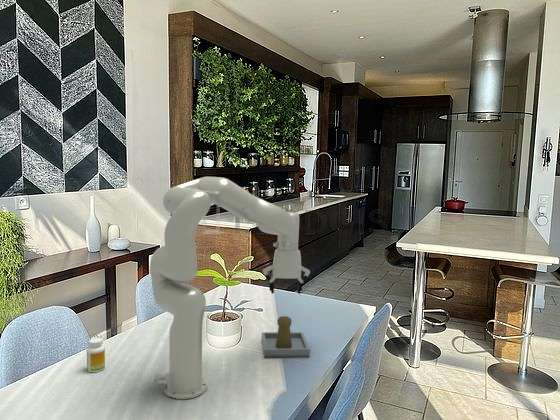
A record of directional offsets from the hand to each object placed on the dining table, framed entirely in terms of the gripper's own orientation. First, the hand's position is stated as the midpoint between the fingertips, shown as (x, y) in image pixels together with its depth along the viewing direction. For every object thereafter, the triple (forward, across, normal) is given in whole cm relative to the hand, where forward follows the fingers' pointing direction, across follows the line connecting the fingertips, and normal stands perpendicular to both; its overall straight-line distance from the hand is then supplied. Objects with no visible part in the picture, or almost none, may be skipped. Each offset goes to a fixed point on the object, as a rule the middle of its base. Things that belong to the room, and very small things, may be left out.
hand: (285, 292), depth 162 cm
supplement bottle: (+22, -62, -14) cm, 68 cm away
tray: (+21, +1, 0) cm, 21 cm away
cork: (+20, 0, 0) cm, 20 cm away
